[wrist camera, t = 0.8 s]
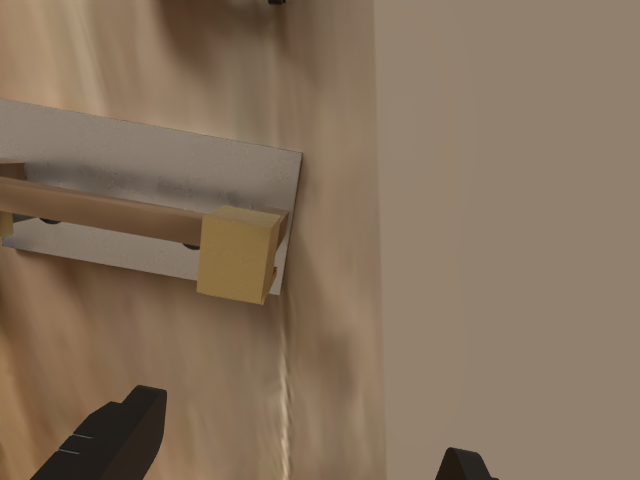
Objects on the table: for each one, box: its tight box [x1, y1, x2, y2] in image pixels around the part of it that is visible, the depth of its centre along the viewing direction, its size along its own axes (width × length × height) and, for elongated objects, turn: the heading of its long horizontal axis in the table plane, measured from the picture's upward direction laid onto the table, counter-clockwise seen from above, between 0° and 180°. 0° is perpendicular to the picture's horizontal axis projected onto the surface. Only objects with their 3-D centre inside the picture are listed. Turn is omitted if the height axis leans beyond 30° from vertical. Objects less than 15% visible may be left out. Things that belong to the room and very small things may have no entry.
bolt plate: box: [0, 98, 303, 295], centre depth 32 cm, size 14×28×1 cm, turn 80°
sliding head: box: [196, 205, 281, 305], centre depth 26 cm, size 6×4×12 cm
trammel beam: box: [0, 158, 289, 252], centre depth 28 cm, size 5×27×8 cm, turn 80°
